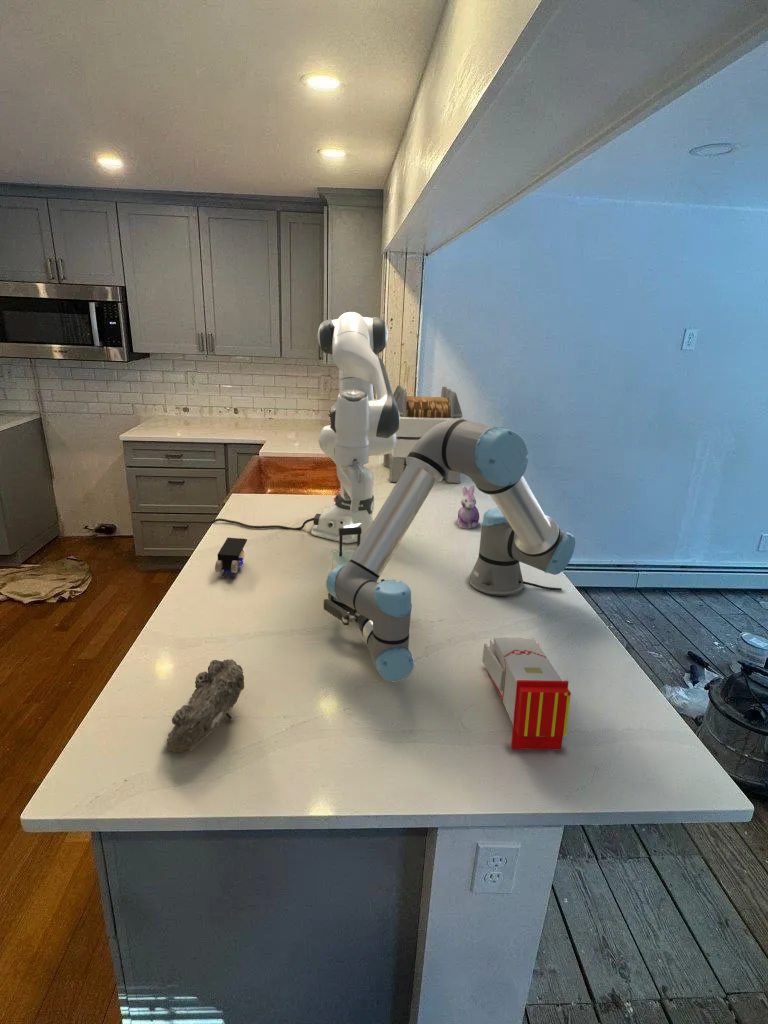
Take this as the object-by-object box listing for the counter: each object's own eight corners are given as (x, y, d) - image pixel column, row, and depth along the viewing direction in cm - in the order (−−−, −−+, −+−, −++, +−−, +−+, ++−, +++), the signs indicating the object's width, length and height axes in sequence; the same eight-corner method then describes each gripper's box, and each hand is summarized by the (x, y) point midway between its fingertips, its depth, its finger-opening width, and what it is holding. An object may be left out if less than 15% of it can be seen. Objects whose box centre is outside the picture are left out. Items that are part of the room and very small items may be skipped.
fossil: (192, 660, 117) (244, 628, 112) (224, 691, 120) (276, 661, 115) (142, 746, 98) (202, 712, 93) (182, 779, 101) (242, 748, 96)
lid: (330, 555, 158) (331, 524, 155) (363, 553, 160) (364, 522, 157) (341, 581, 144) (342, 547, 141) (376, 578, 146) (378, 544, 143)
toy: (531, 620, 128) (580, 688, 99) (526, 675, 131) (572, 757, 101) (478, 619, 128) (511, 687, 98) (474, 674, 130) (505, 756, 101)
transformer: (382, 463, 289) (386, 382, 275) (445, 464, 293) (451, 384, 279) (390, 482, 257) (394, 392, 243) (460, 483, 261) (468, 394, 247)
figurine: (465, 531, 205) (469, 491, 200) (449, 521, 213) (452, 483, 208) (486, 527, 209) (490, 488, 204) (470, 518, 217) (473, 481, 212)
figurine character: (238, 584, 162) (249, 557, 175) (236, 562, 158) (247, 536, 172) (215, 584, 161) (227, 556, 175) (212, 561, 158) (225, 535, 171)
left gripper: (373, 465, 138) (371, 518, 142) (355, 445, 156) (354, 493, 161) (347, 466, 136) (346, 519, 141) (332, 446, 155) (332, 494, 159)
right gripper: (323, 649, 126) (309, 603, 145) (429, 637, 132) (402, 594, 151) (323, 620, 123) (309, 577, 142) (431, 609, 130) (404, 569, 149)
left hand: (350, 505), depth 151 cm, fingers open, 8 cm apart
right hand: (357, 586), depth 147 cm, fingers open, 13 cm apart
